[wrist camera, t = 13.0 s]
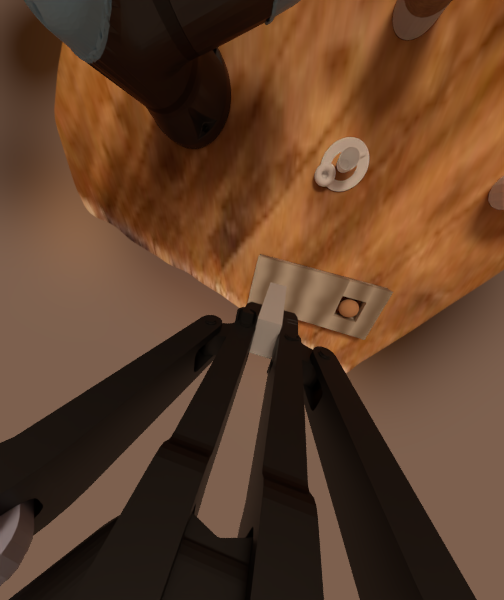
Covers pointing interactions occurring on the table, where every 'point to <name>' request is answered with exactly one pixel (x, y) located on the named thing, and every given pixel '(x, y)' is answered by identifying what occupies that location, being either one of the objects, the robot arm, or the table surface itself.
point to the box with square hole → (320, 295)
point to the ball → (348, 308)
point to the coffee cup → (416, 16)
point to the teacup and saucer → (343, 164)
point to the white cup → (497, 195)
